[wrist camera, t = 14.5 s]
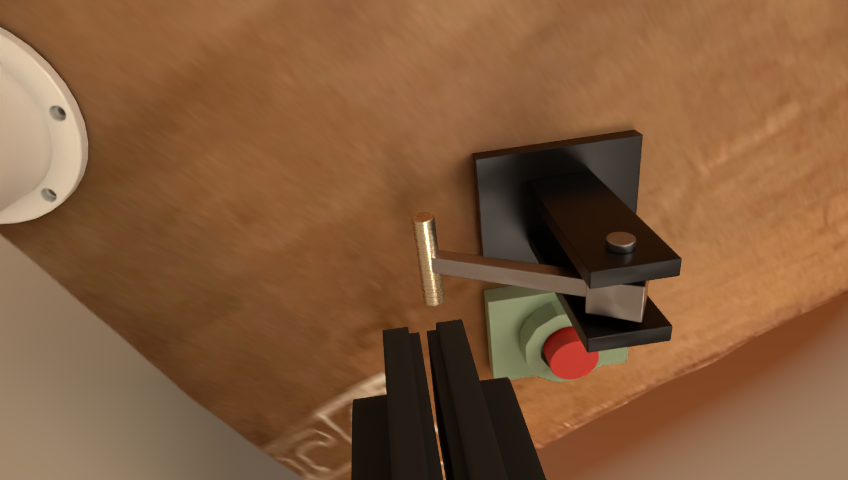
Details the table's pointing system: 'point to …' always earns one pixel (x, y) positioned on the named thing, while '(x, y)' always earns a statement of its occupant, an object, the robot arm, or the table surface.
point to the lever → (519, 276)
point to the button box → (528, 332)
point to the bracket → (576, 225)
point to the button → (568, 355)
